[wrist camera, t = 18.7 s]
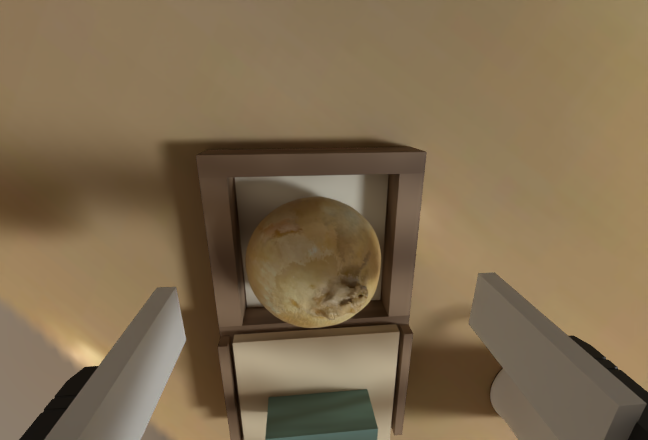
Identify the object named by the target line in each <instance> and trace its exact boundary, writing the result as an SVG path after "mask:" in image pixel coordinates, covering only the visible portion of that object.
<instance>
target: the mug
mask: <svg viewBox="0 0 648 440" xmlns="http://www.w3.org/2000/svg"><path fill="white" fill-rule="evenodd" d="M490 399H491V403H492V406H493V408H494V410H495V411H496V412H497V413H498V414H499V415H500V416H501V417H502V418H503V419H504V420H505V422H506V423H507V424H508V426H509V427H510V428H511V430H512V431H513V433H514V434H515V435H516V437H517V438H518V440H558V438H557V437H556V436H555V435H554V433H553V432H552V431H551V429H550V428H549V427H548V426H547V424H546V423H545V422H544V420H543V419H542V418H541V416H540V415H539V414H538V413H537V411H536V410H535V409H534V407H533V406H532V405H531V404H530V402H529V401H528V400H527V398H526V397H525V396H524V395H523V393H522V392H521V391H520V389H519V388H518V387H517V386H516V384H515V383H514V382H513V380H512V379H511V378H510V377H509V375H508V374H507V373H506V371H505V370H504V369H502V370H501V371H500V372H499V373H498V375H497V376H496V378H495V380H494V382H493V384H492V387H491V392H490Z"/></svg>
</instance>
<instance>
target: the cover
mask: <svg viewBox="0 0 648 440" xmlns="http://www.w3.org/2000/svg"><path fill="white" fill-rule="evenodd" d="M399 334H400V331H399V329H398V327H397V325H396V324H392V325H377V326H361V327H346V328H330V329H315V330H300V331H284V332H269V333H253V334H238V335H234V339H233V351H234V359H235V368H236V376H237V384H238V393H239V401H240V409H241V418H242V426H243V434H244V440H390V431H391V420H392V409H393V398H394V388H395V377H396V366H397V355H398V345H399Z"/></svg>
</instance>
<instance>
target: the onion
mask: <svg viewBox="0 0 648 440" xmlns="http://www.w3.org/2000/svg"><path fill="white" fill-rule="evenodd" d="M288 258H289V259H288ZM245 263H246V273H247V277H248V281H249V284H250V286H251V289H252V291H253V293H254V294H255V296H256V298H257V299H258V300H259V302H260V303H261V304H262V305H263V306H264V307H265V308H266V309H267V310H268V311H269V312H270V313H272V314H273V315H274V316H276V317H277V318H279V319H280V320H282V321H284V322H287V323H289V324H292V325H295V326H298V327H304V328H320V327H326V326H332V325H336V324H339V323H342V322H344V321H346V320H348V319H350V318H351V317H353V316H354V315H355V314H357V313H358V312H359V311H361V310H362V309H363V308H364V307H365V306H366V305H367V304H368V303H369V302H370V300H371V299H372V297H373V295H374V293H375V291H376V288H377V284H378V280H379V275H380V268H381V250H380V245H379V241H378V238H377V236H376V233H375V231H374V230H373V228H372V226H371V225H370V223H369V222H368V221H367V220H366V219H365V218H364V217H363V216H362V215H361V214H360V213H359V212H358V211H356V210H355V209H354V208H352V207H351V206H349V205H347V204H345V203H342V202H340V201H337V200H334V199H330V198H326V197H322V196H316V197H314V196H313V197H306V198H299V199H296V200H293V201H290V202H287V203H285V204H283V205H281V206H279V207H277V208H276V209H274V210H273V211H272V212H271V213H269V214H268V215H267V216H266V217H265V218H264V219H263V220H262V221H261V222H260V223H259V225H258V226H257V227H256V229H255V230H254V232H253V234H252V236H251V238H250V241H249V244H248V246H247V250H246V257H245Z"/></svg>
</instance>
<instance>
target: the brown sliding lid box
mask: <svg viewBox="0 0 648 440" xmlns="http://www.w3.org/2000/svg"><path fill="white" fill-rule="evenodd" d="M196 160H197V168H198V175H199V183H200V190H201V197H202V205H203V212H204V220H205V227H206V235H207V242H208V249H209V257H210V264H211V272H212V279H213V286H214V294H215V301H216V309H217V316H218V324H219V331H220V341H219V344H218V352H219V360H220V367H221V374H222V381H223V388H224V395H225V403H226V410H227V417H228V424H229V431H230V438H231V440H244V434H243V426H242V418H241V409H240V401H239V393H238V384H237V376H236V368H235V359H234V351H233V339H234V335H238V334H253V333H269V332H284V331H300V330H315V329H330V328H346V327H361V326H377V325H392V324H396V325H397V327H398V329H399V331H400V334H399V345H398V355H397V366H396V377H395V388H394V398H393V409H392V420H391V428H392V429H393V432H394V435H402V430H403V421H404V412H405V403H406V394H407V384H408V375H409V366H410V357H411V348H412V339H413V333H412V331H411V329H410V327H409V317H410V307H411V297H412V288H413V278H414V268H415V259H416V249H417V239H418V230H419V220H420V210H421V201H422V191H423V181H424V172H425V162H426V152H425V151H422V150H419V149H416V148H413V147H380V148H306V149H233V150H206V151H204V152H202V153H200V154H198V155H196ZM313 196H314V197H316V196H322V197H326V198H330V199H334V200H337V201H340V202H342V203H345V204H347V205H349V206H351V207H352V208H354V209H355V210H356V211H358V212H359V213H360V214H361V215H362V216H363V217H364V218H365V219H366V220H367V221H368V222H369V223H370V225H371V226H372V228H373V230H374V231H375V233H376V236H377V238H378V241H379V245H380V250H381V268H380V275H379V280H378V284H377V288H376V291H375V293H374V295H373V297H372V299H371V300H370V302H369V303H368V304H367V305H366V306H365V307H364V308H363V309H362V310H361V311H359V312H358V313H357V314H355V315H354V316H353V317H351V318H350V319H348V320H346V321H344V322H342V323H339V324H336V325H332V326H326V327H320V328H304V327H298V326H295V325H292V324H289V323H287V322H284V321H282V320H280V319H279V318H277V317H276V316H274V315H273V314H272V313H270V312H269V311H268V310H267V309H266V308H265V307H264V306H263V305H262V304H261V303H260V302H259V300H258V299H257V298H256V296H255V294H254V293H253V291H252V289H251V286H250V284H249V281H248V277H247V273H246V263H245V257H246V250H247V246H248V244H249V241H250V238H251V236H252V234H253V232H254V230H255V229H256V227H257V226H258V225H259V223H260V222H261V221H262V220H263V219H264V218H265V217H266V216H267V215H268V214H269V213H271V212H272V211H273V210H274V209H276V208H277V207H279V206H281V205H283V204H285V203H287V202H290V201H293V200H296V199H299V198H306V197H313ZM288 259H289V258H288Z"/></svg>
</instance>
